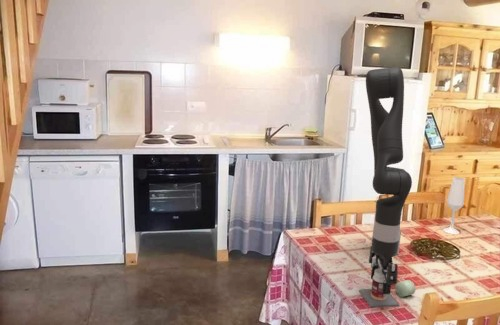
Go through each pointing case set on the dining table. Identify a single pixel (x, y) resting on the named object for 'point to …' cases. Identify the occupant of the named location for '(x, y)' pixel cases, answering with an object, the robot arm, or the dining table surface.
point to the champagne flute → (455, 200)
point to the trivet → (378, 303)
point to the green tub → (405, 288)
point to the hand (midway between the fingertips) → (380, 286)
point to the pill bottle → (378, 285)
